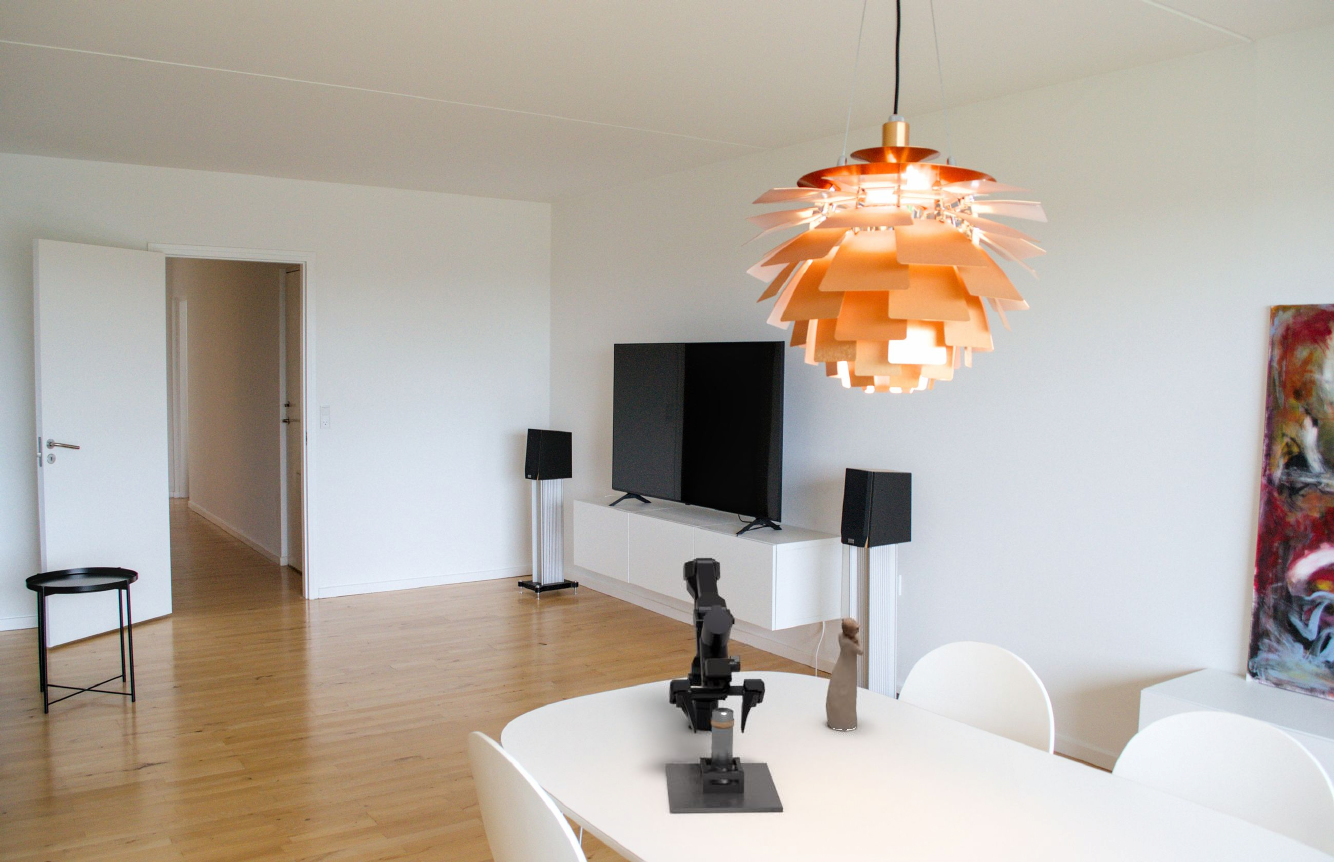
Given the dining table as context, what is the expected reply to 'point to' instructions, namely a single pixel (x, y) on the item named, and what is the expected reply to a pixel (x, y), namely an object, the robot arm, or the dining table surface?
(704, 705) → the robot arm
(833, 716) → the figurine
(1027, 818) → the dining table surface
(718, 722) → the grey metal cylinder
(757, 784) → the collar stand
